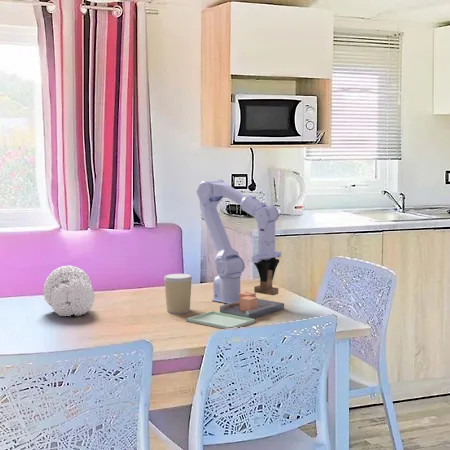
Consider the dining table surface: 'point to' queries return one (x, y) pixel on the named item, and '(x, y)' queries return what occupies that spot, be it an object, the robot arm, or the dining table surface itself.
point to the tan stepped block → (266, 286)
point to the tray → (220, 320)
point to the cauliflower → (69, 291)
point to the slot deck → (261, 310)
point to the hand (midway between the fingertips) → (266, 280)
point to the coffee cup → (178, 292)
